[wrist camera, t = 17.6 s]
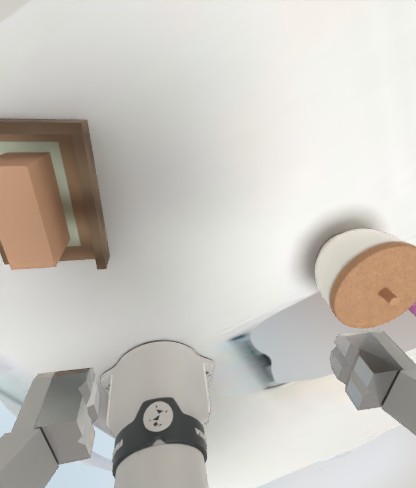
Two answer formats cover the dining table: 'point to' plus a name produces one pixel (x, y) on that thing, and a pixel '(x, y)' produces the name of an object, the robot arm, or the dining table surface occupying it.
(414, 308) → the gum box
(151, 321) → the dining table surface
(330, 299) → the lidded bowl
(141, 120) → the dining table surface
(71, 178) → the brown wooden flat frame
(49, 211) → the terracotta block
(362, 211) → the dining table surface
